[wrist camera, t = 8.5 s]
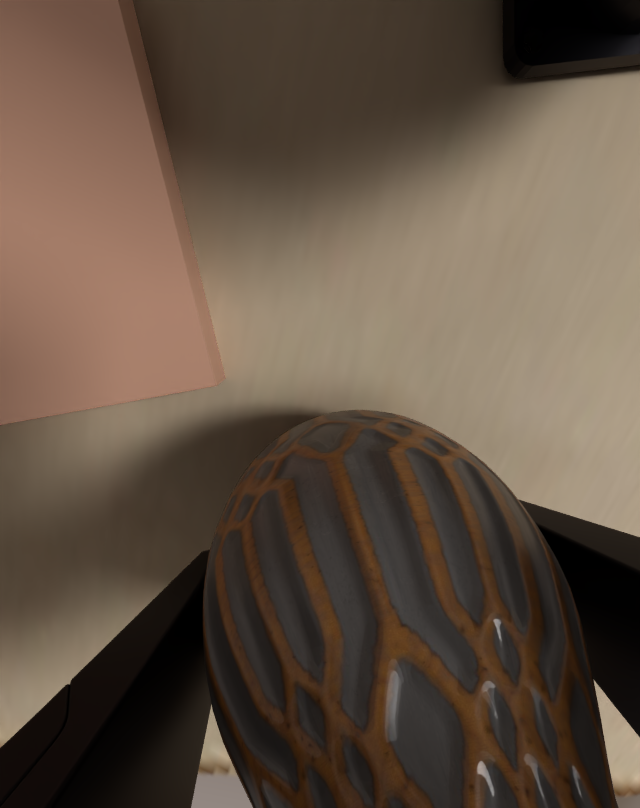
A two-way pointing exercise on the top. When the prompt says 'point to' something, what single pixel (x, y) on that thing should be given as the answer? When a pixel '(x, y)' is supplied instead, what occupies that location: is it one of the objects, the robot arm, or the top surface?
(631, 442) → the top surface
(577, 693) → the vase
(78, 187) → the tile
